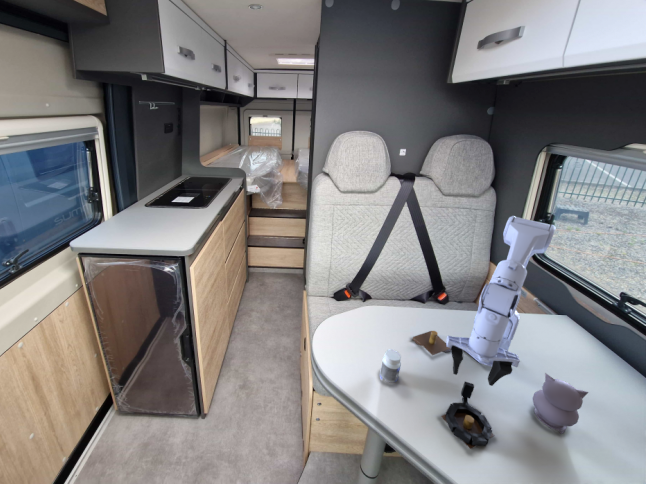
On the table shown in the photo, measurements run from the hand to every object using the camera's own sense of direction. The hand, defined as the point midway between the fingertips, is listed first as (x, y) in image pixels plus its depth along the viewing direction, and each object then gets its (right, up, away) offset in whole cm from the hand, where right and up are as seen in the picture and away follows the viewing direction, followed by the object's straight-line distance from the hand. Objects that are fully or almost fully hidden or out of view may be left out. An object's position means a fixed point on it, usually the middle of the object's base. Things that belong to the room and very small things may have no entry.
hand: (472, 376), depth 75 cm
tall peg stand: (0, -1, +22) cm, 22 cm away
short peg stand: (-3, -11, -3) cm, 12 cm away
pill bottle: (-17, -6, +10) cm, 21 cm away
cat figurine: (+19, -11, 0) cm, 22 cm away
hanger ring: (-2, -9, -2) cm, 10 cm away
